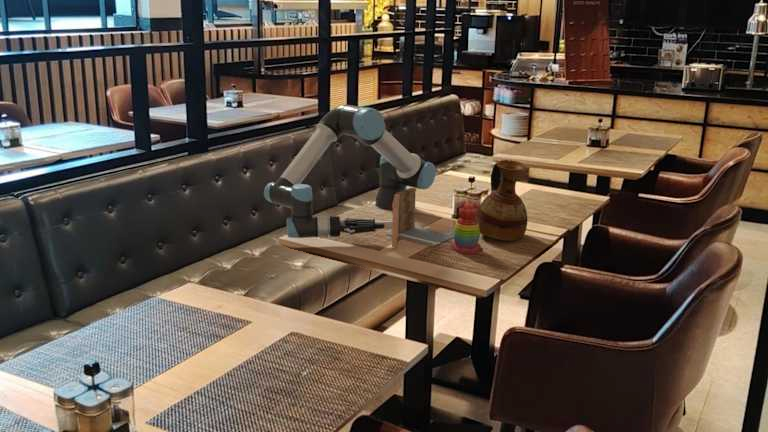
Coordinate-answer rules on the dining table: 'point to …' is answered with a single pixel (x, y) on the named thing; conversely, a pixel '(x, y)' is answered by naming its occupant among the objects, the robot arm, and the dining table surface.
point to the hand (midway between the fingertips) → (392, 224)
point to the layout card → (424, 236)
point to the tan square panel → (395, 220)
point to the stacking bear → (467, 230)
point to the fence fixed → (407, 209)
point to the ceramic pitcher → (503, 204)
